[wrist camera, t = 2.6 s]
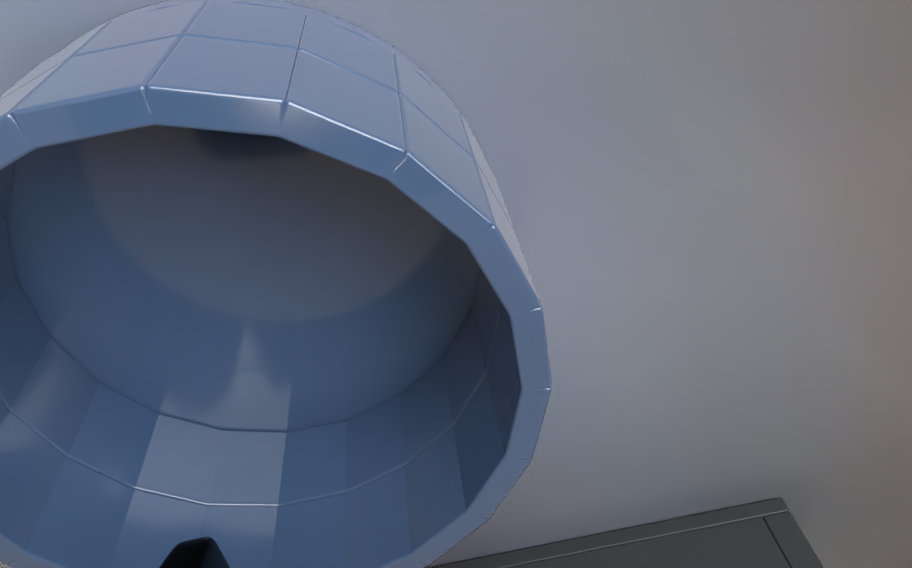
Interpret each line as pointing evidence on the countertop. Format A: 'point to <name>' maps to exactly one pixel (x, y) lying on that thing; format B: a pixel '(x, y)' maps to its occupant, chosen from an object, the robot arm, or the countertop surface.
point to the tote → (678, 544)
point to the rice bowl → (254, 300)
